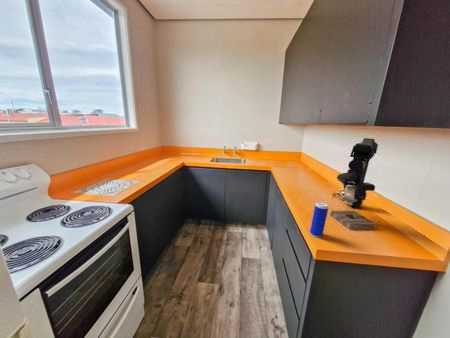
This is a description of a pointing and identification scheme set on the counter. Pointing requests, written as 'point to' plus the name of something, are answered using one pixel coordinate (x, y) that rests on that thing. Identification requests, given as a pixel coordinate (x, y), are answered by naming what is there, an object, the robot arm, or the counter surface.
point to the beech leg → (349, 194)
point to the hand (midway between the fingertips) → (350, 197)
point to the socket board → (352, 220)
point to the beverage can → (319, 219)
